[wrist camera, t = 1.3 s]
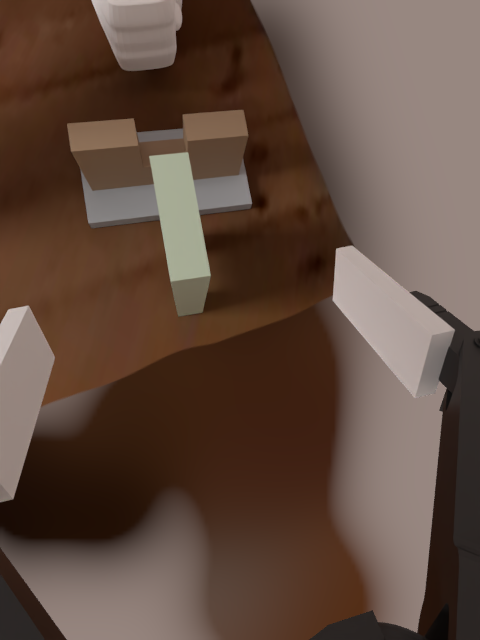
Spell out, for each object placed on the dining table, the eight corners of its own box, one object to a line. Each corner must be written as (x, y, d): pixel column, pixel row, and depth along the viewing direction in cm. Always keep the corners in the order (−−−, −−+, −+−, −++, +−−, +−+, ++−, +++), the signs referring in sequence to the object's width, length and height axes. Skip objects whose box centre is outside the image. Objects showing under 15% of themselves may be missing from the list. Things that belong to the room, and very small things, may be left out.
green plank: (178, 316, 45) (170, 281, 27) (164, 238, 46) (149, 155, 28) (202, 312, 45) (210, 275, 27) (188, 235, 46) (188, 152, 28)
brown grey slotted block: (91, 228, 45) (65, 190, 35) (79, 145, 46) (51, 87, 36) (250, 208, 48) (264, 169, 38) (234, 131, 49) (245, 75, 40)
